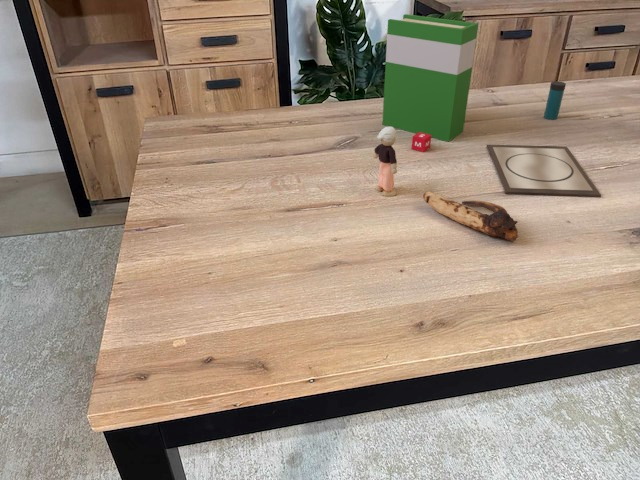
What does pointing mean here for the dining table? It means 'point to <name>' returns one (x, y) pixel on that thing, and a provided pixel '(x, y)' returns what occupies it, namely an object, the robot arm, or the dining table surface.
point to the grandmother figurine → (386, 161)
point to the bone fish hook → (476, 215)
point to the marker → (554, 100)
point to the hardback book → (428, 75)
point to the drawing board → (540, 171)
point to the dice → (421, 142)
